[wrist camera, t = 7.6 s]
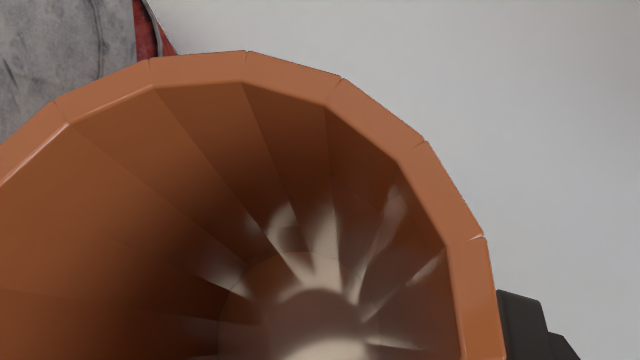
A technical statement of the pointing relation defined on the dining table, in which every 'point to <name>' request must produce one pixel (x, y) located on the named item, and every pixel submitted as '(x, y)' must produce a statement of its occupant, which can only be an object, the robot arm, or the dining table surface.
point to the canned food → (68, 49)
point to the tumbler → (235, 224)
